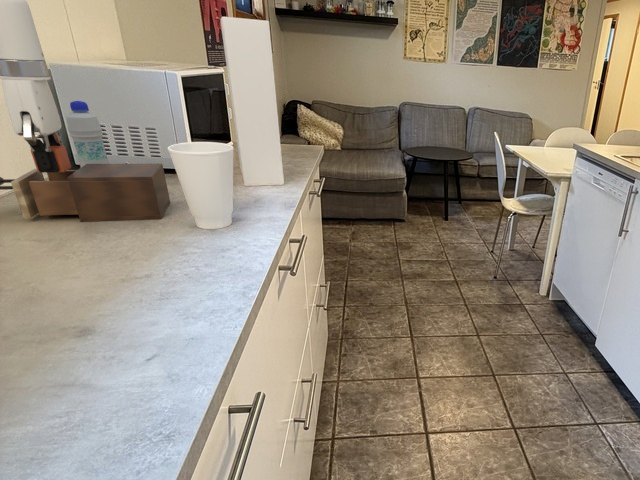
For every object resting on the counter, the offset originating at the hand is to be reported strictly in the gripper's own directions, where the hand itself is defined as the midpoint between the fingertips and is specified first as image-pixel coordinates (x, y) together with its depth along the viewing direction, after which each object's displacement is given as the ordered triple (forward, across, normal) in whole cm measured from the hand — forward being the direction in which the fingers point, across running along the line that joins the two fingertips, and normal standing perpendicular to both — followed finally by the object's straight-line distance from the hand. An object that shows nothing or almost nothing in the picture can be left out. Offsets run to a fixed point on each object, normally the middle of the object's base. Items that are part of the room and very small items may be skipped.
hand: (54, 168), depth 96 cm
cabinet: (+10, 0, +11) cm, 15 cm away
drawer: (+9, 0, -2) cm, 9 cm away
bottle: (+10, -24, 0) cm, 26 cm away
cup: (+10, +11, +29) cm, 33 cm away
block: (0, 0, 0) cm, 0 cm away
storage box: (+10, -31, +39) cm, 51 cm away
